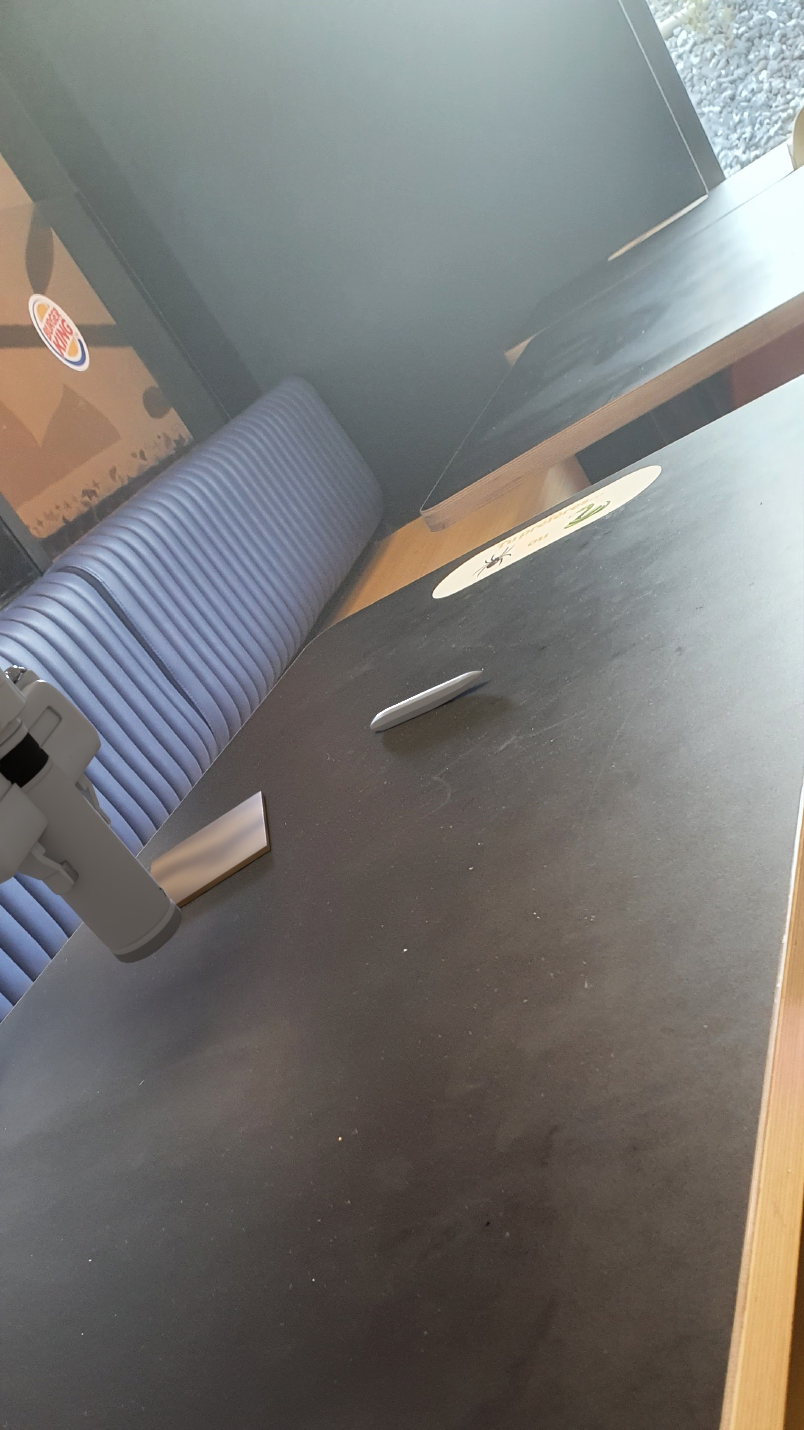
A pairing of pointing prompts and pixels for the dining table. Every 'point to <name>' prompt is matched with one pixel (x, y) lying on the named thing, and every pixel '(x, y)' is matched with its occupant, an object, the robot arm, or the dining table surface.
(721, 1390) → the dining table surface
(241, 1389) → the dining table surface
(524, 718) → the dining table surface
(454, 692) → the pen
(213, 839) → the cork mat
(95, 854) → the travel mug
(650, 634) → the dining table surface
